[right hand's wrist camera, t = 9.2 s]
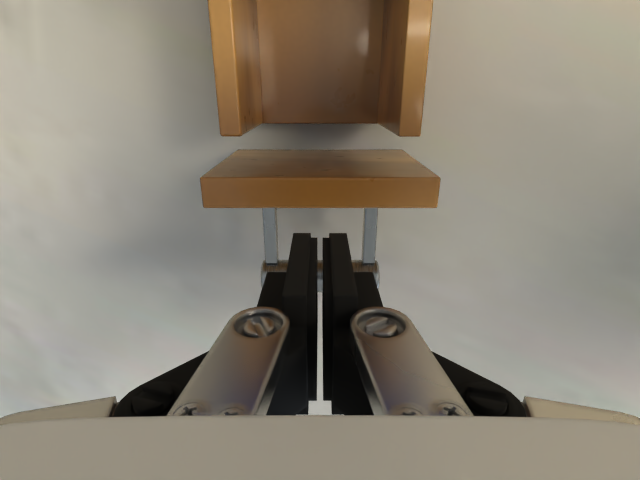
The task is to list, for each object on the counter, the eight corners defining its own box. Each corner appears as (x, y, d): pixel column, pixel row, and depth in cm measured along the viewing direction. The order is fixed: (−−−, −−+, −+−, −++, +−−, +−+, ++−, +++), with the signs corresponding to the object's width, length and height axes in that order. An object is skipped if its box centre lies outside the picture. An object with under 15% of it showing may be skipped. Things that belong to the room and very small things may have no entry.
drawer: (394, 260, 23) (423, 328, 17) (246, 260, 23) (217, 328, 17) (446, -396, 14) (563, -847, 7) (194, -397, 14) (78, -846, 7)
